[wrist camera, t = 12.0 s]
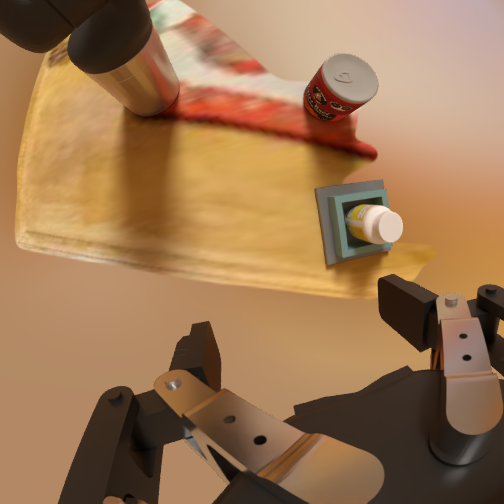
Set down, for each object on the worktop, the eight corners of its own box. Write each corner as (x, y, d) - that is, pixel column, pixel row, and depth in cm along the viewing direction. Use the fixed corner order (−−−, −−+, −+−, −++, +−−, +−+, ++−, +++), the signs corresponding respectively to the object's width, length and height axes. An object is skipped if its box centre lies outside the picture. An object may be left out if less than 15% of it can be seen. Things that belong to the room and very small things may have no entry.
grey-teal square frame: (314, 188, 41) (322, 187, 37) (379, 179, 41) (392, 178, 37) (325, 263, 43) (334, 269, 39) (388, 249, 44) (400, 253, 40)
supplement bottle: (371, 238, 42) (404, 249, 32) (341, 236, 41) (371, 247, 32) (374, 205, 41) (408, 208, 31) (344, 202, 40) (375, 204, 31)
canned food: (293, 90, 38) (311, 60, 27) (332, 76, 37) (358, 47, 27) (317, 130, 39) (344, 110, 28) (355, 113, 39) (388, 93, 28)
